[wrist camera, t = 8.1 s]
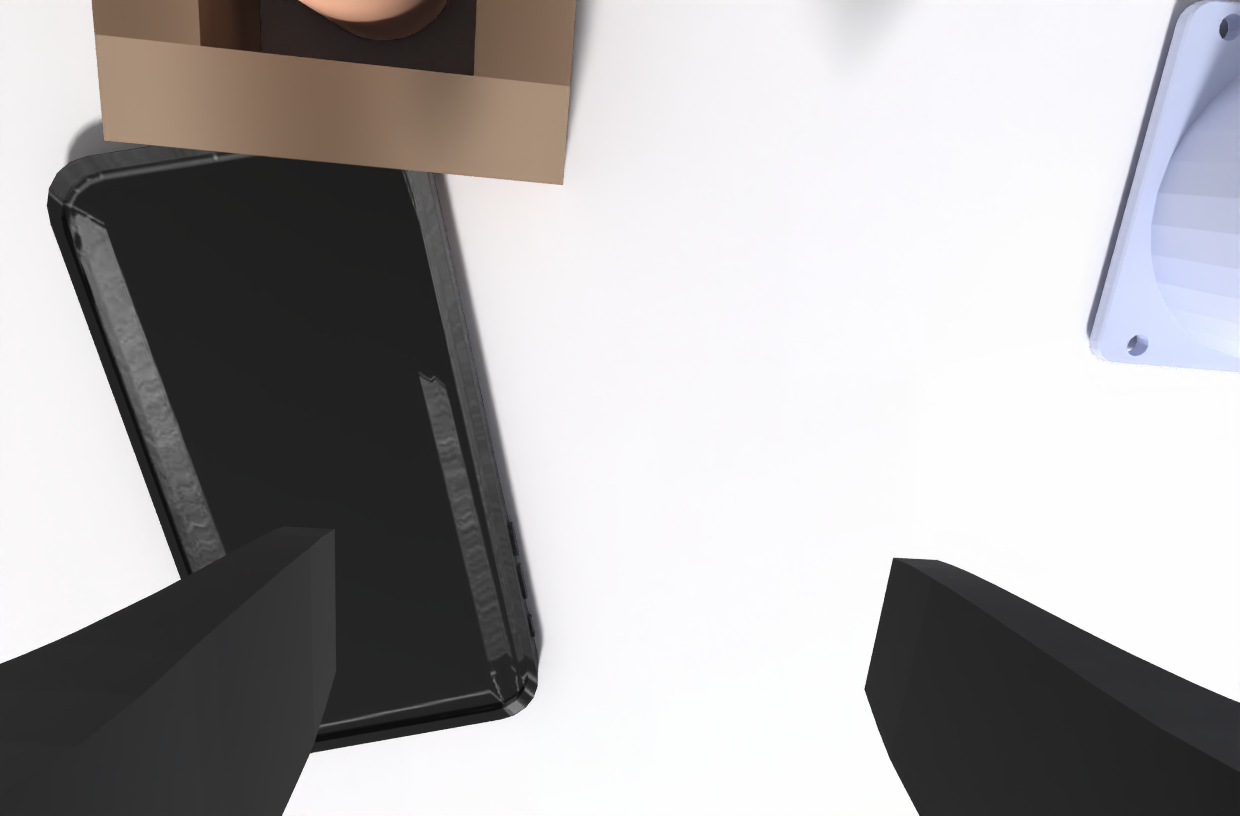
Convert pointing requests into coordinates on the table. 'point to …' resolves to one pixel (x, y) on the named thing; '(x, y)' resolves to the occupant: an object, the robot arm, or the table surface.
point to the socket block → (338, 91)
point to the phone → (311, 407)
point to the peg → (379, 16)
